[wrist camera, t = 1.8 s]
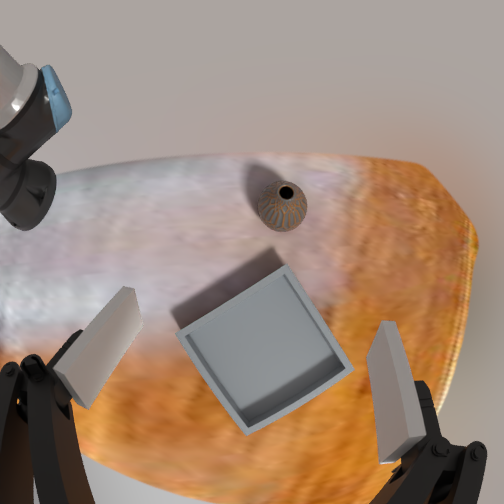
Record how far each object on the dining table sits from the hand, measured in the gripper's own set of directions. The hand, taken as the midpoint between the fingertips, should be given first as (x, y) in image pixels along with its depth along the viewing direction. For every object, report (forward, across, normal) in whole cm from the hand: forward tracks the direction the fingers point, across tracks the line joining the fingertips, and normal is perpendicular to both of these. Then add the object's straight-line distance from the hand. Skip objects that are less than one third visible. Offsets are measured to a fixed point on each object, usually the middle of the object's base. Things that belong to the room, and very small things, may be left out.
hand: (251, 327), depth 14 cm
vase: (+30, 0, -4) cm, 31 cm away
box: (+17, 0, -20) cm, 27 cm away
